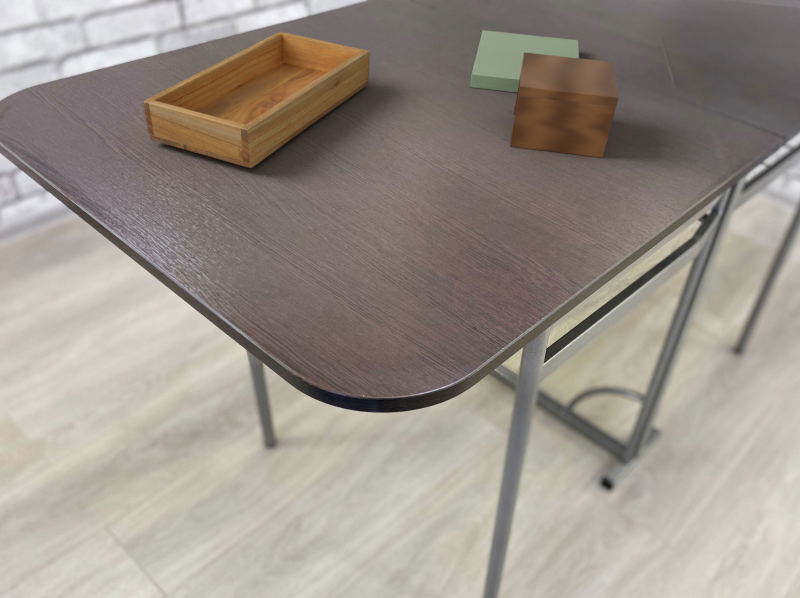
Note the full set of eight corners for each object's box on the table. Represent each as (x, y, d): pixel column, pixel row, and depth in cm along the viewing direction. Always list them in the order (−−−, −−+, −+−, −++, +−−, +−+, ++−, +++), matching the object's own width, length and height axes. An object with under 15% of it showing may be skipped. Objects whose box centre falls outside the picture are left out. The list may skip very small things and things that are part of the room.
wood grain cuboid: (599, 119, 101) (613, 61, 96) (602, 157, 92) (618, 97, 87) (514, 109, 103) (523, 52, 97) (509, 146, 94) (519, 86, 88)
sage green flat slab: (575, 52, 121) (578, 40, 119) (577, 99, 106) (580, 86, 105) (481, 42, 122) (482, 30, 121) (469, 87, 108) (471, 74, 106)
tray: (281, 66, 110) (279, 27, 107) (369, 87, 106) (370, 47, 102) (149, 145, 90) (141, 100, 86) (251, 175, 85) (247, 129, 81)
